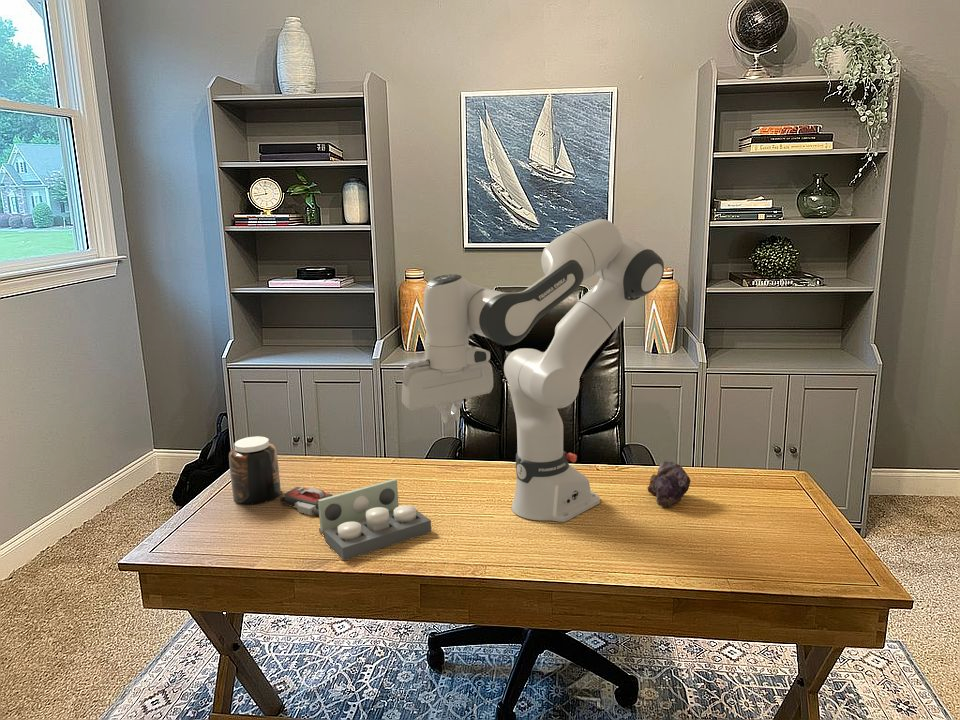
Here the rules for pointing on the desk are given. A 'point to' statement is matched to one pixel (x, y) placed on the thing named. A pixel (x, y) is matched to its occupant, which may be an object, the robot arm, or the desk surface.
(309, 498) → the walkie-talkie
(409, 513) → the button
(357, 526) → the button
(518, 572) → the desk surface
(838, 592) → the desk surface
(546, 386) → the robot arm
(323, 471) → the desk surface
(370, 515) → the button middle
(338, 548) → the button board
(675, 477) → the rock
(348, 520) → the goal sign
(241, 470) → the jar
